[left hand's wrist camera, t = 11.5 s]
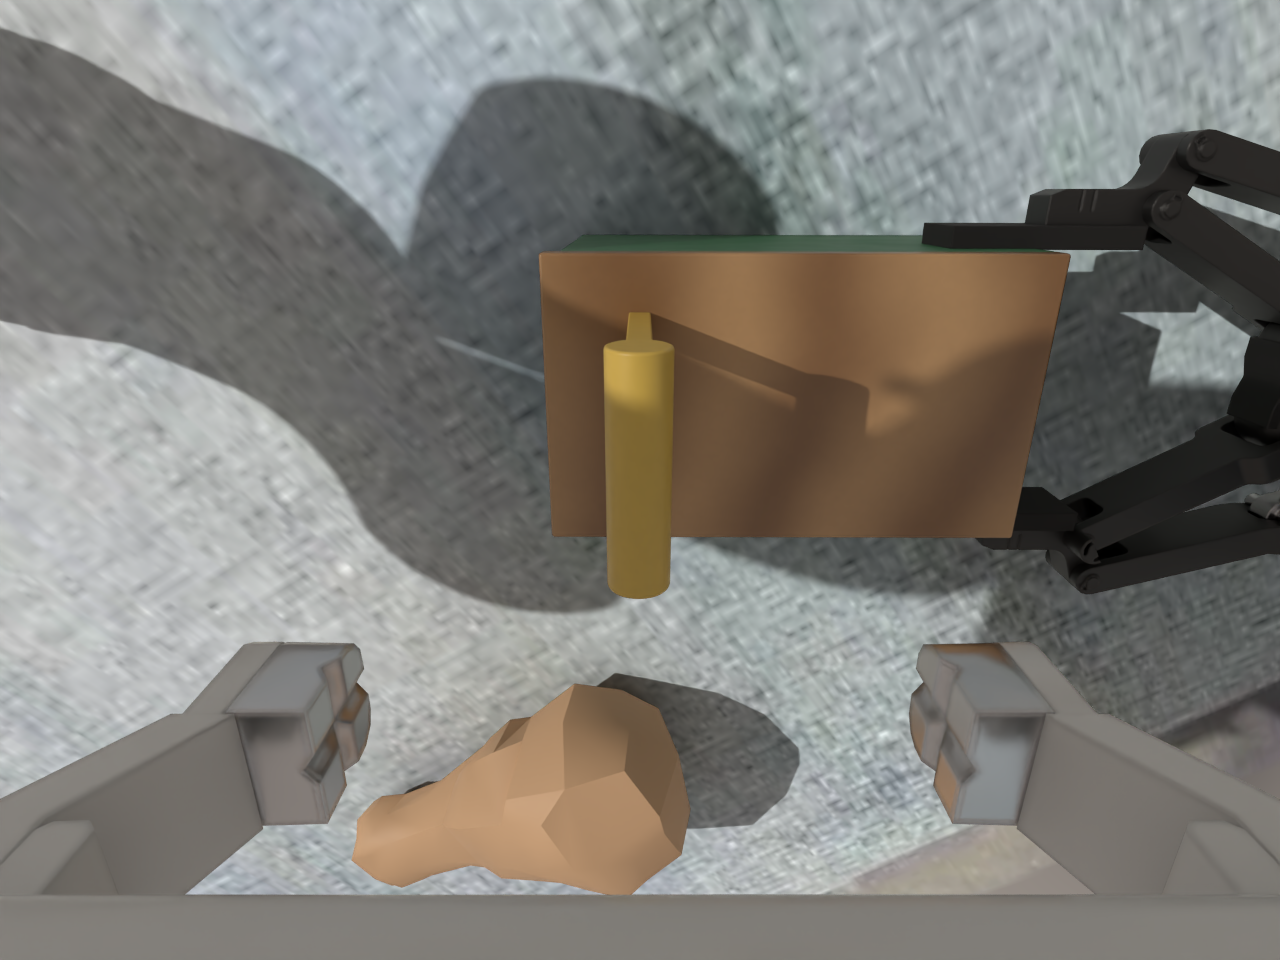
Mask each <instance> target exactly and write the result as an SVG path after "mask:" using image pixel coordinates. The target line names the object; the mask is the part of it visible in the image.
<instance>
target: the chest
mask: <svg viewBox="0 0 1280 960" xmlns="http://www.w3.org/2000/svg"><path fill="white" fill-rule="evenodd" d="M922 236H923V235H582V236H581V237H580V238H578V239H577V240H575V241H574V242H572V243H571V244H570V245H568V246H567V247H565V248H564V249H563V250H561V251H842V252H1054V251H1047V250H1040V249H949V248H944V247H938V246H932V245H927V244H922Z"/></svg>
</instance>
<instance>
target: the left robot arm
mask: <svg viewBox="0 0 1280 960" xmlns="http://www.w3.org/2000/svg"><path fill="white" fill-rule="evenodd" d="M363 670H364V666H363V661H362V656H361V651H360V649H359V648H358V647H357V646H356V645H355V644H354V643H310V642H286V643H284V642H251V643H248V644H245V645H243V646H242V647H241V648H240V649H239V651H238V652H237V653H236V654H235V655H234V656H233V657H232V658H231V660H230V661H229V662H228V663H227V664H226V665H225V666H224V667H223V669H222V670H221V671H220V672H219V673H218V674H217V675H216V676H215V678H214V679H213V680H212V681H211V682H210V683H209V684H208V686H207V687H206V688H205V689H204V690H203V691H202V692H201V693H200V695H199V696H198V697H197V698H196V699H195V700H194V701H193V702H192V704H191V705H190V706H189V707H188V708H187V709H186V710H185V711H184V713H183V714H170V715H168V716H166V717H164V718H162V719H160V720H158V721H156V722H154V723H152V724H150V725H148V726H146V727H144V728H142V729H140V730H138V731H136V732H134V733H132V734H130V735H128V736H126V737H124V738H122V739H120V740H118V741H116V742H114V743H112V744H110V745H108V746H106V747H104V748H102V749H100V750H98V751H96V752H94V753H92V754H90V755H88V756H86V757H84V758H82V759H79V760H77V761H75V762H73V763H71V764H69V765H67V766H65V767H63V768H61V769H59V770H57V771H55V772H53V773H51V774H49V775H47V776H45V777H43V778H41V779H39V780H37V781H35V782H33V783H31V784H29V785H27V786H25V787H23V788H21V789H19V790H17V791H15V792H13V793H11V794H9V795H7V796H5V797H3V798H1V799H0V960H1280V799H1278V798H1276V797H1274V796H1272V795H1270V794H1268V793H1266V792H1264V791H1262V790H1260V789H1258V788H1256V787H1254V786H1252V785H1250V784H1248V783H1246V782H1244V781H1242V780H1240V779H1238V778H1236V777H1234V776H1232V775H1230V774H1228V773H1226V772H1224V771H1222V770H1220V769H1218V768H1216V767H1214V766H1212V765H1210V764H1208V763H1206V762H1204V761H1202V760H1200V759H1198V758H1196V757H1194V756H1192V755H1190V754H1188V753H1186V752H1184V751H1182V750H1180V749H1178V748H1176V747H1174V746H1172V745H1170V744H1168V743H1166V742H1164V741H1162V740H1160V739H1158V738H1156V737H1154V736H1152V735H1150V734H1148V733H1146V732H1144V731H1142V730H1140V729H1138V728H1136V727H1134V726H1132V725H1130V724H1128V723H1126V722H1124V721H1122V720H1120V719H1118V718H1116V717H1114V716H1112V715H1110V714H1097V713H1096V711H1095V710H1094V709H1093V708H1092V707H1091V706H1090V705H1089V704H1088V702H1087V701H1086V700H1085V699H1084V698H1083V697H1082V696H1081V695H1080V693H1079V692H1078V691H1077V690H1076V689H1075V688H1074V687H1073V686H1072V684H1071V683H1070V682H1069V681H1068V680H1067V679H1066V678H1065V676H1064V675H1063V674H1062V673H1061V672H1060V671H1059V670H1058V669H1057V667H1056V666H1055V665H1054V664H1053V663H1052V662H1051V661H1050V660H1049V658H1048V657H1047V656H1046V655H1045V654H1044V653H1043V652H1042V651H1041V649H1040V648H1039V647H1038V646H1037V645H1035V644H1033V643H1031V642H1028V641H1025V642H995V643H976V644H923V646H922V648H921V650H920V652H919V654H918V660H917V665H916V670H917V671H918V673H919V675H920V677H921V678H922V680H923V683H922V684H921V685H920V686H919V687H918V688H917V689H916V690H915V691H914V692H913V693H912V695H911V702H910V710H909V719H910V731H911V736H912V739H913V743H914V747H915V749H916V751H917V753H918V755H919V757H920V760H921V761H922V762H923V763H925V764H926V765H928V766H929V767H930V768H932V769H933V770H935V771H936V773H935V778H934V784H933V786H934V788H935V790H936V792H937V794H938V796H939V798H940V800H941V802H942V804H943V806H944V808H945V810H946V812H947V814H948V816H949V818H950V820H951V822H952V824H978V825H1014V826H1017V829H1018V830H1019V831H1020V832H1022V833H1023V834H1024V835H1025V836H1026V837H1027V838H1029V839H1030V840H1031V841H1032V842H1033V843H1035V844H1036V845H1037V846H1038V847H1039V848H1041V849H1042V850H1043V851H1044V852H1045V853H1047V854H1048V855H1049V856H1050V857H1051V858H1053V859H1054V860H1055V861H1056V862H1057V863H1058V864H1060V865H1061V866H1062V867H1063V868H1064V869H1066V870H1067V871H1068V872H1069V873H1070V874H1072V875H1073V876H1074V877H1075V878H1076V879H1078V880H1079V881H1080V882H1081V883H1082V884H1084V885H1085V886H1086V887H1087V888H1088V889H1090V890H1091V891H1092V892H1093V893H1094V894H1080V895H791V894H713V895H185V894H186V893H187V892H188V891H190V890H191V889H192V888H193V887H194V886H196V885H197V884H198V883H199V882H200V881H202V880H203V879H204V878H205V877H206V876H207V875H209V874H210V873H211V872H212V871H213V870H215V869H216V868H217V867H218V866H219V865H221V864H222V863H223V862H224V861H225V860H227V859H228V858H229V857H230V856H231V855H233V854H234V853H235V852H236V851H237V850H239V849H240V848H241V847H242V846H243V845H245V844H246V843H247V842H248V841H249V840H250V839H252V838H253V837H254V836H255V835H256V834H258V833H259V832H260V831H261V830H262V829H263V826H266V825H300V824H328V822H329V820H330V818H331V816H332V814H333V812H334V810H335V808H336V806H337V804H338V802H339V800H340V798H341V796H342V794H343V792H344V790H345V788H346V786H347V784H346V778H345V772H344V771H345V770H347V769H348V768H350V767H351V766H352V765H354V764H355V763H357V762H358V761H359V760H360V757H361V755H362V753H363V751H364V749H365V747H366V744H367V739H368V734H369V730H370V725H371V708H370V701H369V695H368V693H367V692H366V691H365V690H364V689H363V688H362V687H361V686H360V685H359V684H358V683H357V680H358V678H359V677H360V675H361V673H362V671H363Z"/></svg>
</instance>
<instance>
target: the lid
mask: <svg viewBox="0 0 1280 960" xmlns="http://www.w3.org/2000/svg"><path fill="white" fill-rule="evenodd" d="M1070 257H1071V256H1070V254H1068V253H1060V252H842V251H543V252H541V253H539V272H540V293H541V314H542V335H543V356H544V377H545V398H546V419H547V440H548V461H549V482H550V503H551V524H552V535H553V536H554V537H607V583H608V586H609V588H610V589H611V590H612V591H613V592H614V593H616V594H617V595H620V596H622V597H626V598H632V599H645V598H651V597H655V596H658V595H660V594H662V593H663V592H665V591H666V590H667V588H668V587H669V584H670V555H671V537H906V538H1010V537H1011V536H1012V532H1013V527H1014V523H1015V518H1016V513H1017V509H1018V504H1019V499H1020V494H1021V490H1022V485H1023V480H1024V475H1025V471H1026V466H1027V461H1028V456H1029V452H1030V447H1031V442H1032V437H1033V433H1034V428H1035V423H1036V419H1037V414H1038V409H1039V404H1040V400H1041V395H1042V390H1043V385H1044V381H1045V376H1046V371H1047V366H1048V362H1049V357H1050V352H1051V347H1052V343H1053V338H1054V333H1055V329H1056V324H1057V319H1058V314H1059V310H1060V305H1061V300H1062V295H1063V291H1064V286H1065V281H1066V276H1067V272H1068V267H1069V262H1070Z"/></svg>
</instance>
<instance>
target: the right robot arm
mask: <svg viewBox="0 0 1280 960" xmlns="http://www.w3.org/2000/svg"><path fill="white" fill-rule="evenodd" d="M1139 160H1140V164H1141V165H1140V167H1139V169H1138V171H1137V172H1136V174H1135V175H1134V177H1133V178H1132V179H1131V180H1130V181H1129V182H1128V183H1127V184H1125V185H1124V186H1122V187H1120V188H1117V189H1045V190H1042V191H1040V192H1037V193H1035V194H1032V195H1030V199H1029V204H1028V209H1027V215H1026V220H1025V223H924V229H923V236H922V244H927V245H932V246H938V247H944V248H949V249H1040V250H1143V246H1144V244H1145V245H1146V246H1148V247H1149V248H1151V249H1152V250H1154V251H1155V252H1156V253H1158V254H1159V255H1161V256H1162V257H1164V258H1165V259H1167V260H1168V261H1169V262H1171V263H1172V264H1174V265H1175V266H1177V267H1178V268H1179V269H1181V270H1182V271H1184V272H1185V273H1187V274H1188V275H1190V276H1191V277H1192V278H1194V279H1195V280H1197V281H1198V282H1200V283H1201V284H1203V285H1204V286H1205V287H1207V288H1208V289H1210V290H1211V291H1213V292H1214V293H1216V294H1217V295H1218V296H1220V297H1221V298H1223V299H1224V300H1226V301H1227V302H1229V303H1230V304H1231V305H1233V306H1234V307H1233V308H1232V309H1233V311H1235V312H1236V313H1237V314H1239V315H1240V316H1242V317H1243V318H1245V319H1246V320H1248V321H1249V322H1250V323H1252V324H1253V325H1255V326H1256V327H1258V328H1259V329H1261V330H1262V332H1261V333H1260V335H1259V336H1251V337H1250V340H1249V343H1248V346H1247V350H1246V353H1245V356H1244V376H1243V378H1242V380H1241V381H1240V383H1239V385H1238V386H1237V388H1236V390H1235V392H1234V393H1233V395H1232V398H1231V401H1230V404H1229V407H1228V411H1227V414H1229V415H1227V416H1225V417H1223V418H1221V419H1219V420H1217V421H1214V422H1212V423H1210V424H1208V425H1206V426H1204V427H1202V428H1200V429H1198V430H1197V431H1196V432H1195V438H1194V439H1192V440H1190V441H1188V442H1186V443H1184V444H1181V445H1179V446H1177V447H1175V448H1173V449H1171V450H1168V451H1166V452H1164V453H1162V454H1160V455H1158V456H1155V457H1153V458H1151V459H1149V460H1147V461H1145V462H1142V463H1140V464H1138V465H1136V466H1134V467H1132V468H1129V469H1127V470H1125V471H1123V472H1121V473H1119V474H1116V475H1114V476H1112V477H1110V478H1108V479H1106V480H1103V481H1101V482H1099V483H1097V484H1095V485H1093V486H1090V487H1088V488H1086V489H1084V490H1082V491H1080V492H1077V493H1075V494H1073V495H1071V496H1069V497H1067V498H1064V499H1062V500H1059V499H1057V498H1056V497H1055V496H1053V495H1052V494H1051V493H1049V492H1048V491H1047V490H1045V489H1044V488H1042V487H1022V490H1021V494H1020V499H1019V504H1018V509H1017V513H1016V518H1015V523H1014V527H1013V532H1012V536H1011V537H1010V538H976V539H977V541H978V542H979V543H980V544H981V545H983V546H986V547H988V548H991V549H993V550H1007V549H1009V550H1017V549H1019V550H1047V552H1046V557H1045V558H1046V561H1047V562H1048V563H1049V564H1050V565H1051V566H1052V567H1053V568H1054V569H1055V570H1056V571H1057V572H1058V573H1059V574H1061V575H1062V576H1063V577H1064V578H1065V579H1066V580H1067V581H1068V582H1069V583H1070V584H1072V585H1073V586H1074V587H1075V588H1076V589H1077V590H1079V591H1080V592H1081V593H1083V594H1094V593H1098V592H1103V591H1107V590H1111V589H1116V588H1120V587H1124V586H1129V585H1133V584H1138V583H1142V582H1146V581H1151V580H1155V579H1160V578H1164V577H1168V576H1173V575H1177V574H1181V573H1186V572H1190V571H1195V570H1199V569H1203V568H1208V567H1212V566H1216V565H1221V564H1225V563H1230V562H1234V561H1238V560H1243V559H1247V558H1252V557H1256V556H1260V555H1265V554H1279V555H1280V489H1279V490H1277V491H1275V492H1271V493H1265V494H1262V495H1259V494H1256V493H1252V494H1249V495H1248V496H1247V497H1246V498H1245V503H1227V504H1220V505H1214V506H1209V507H1205V508H1201V509H1197V510H1193V511H1188V512H1185V511H1187V510H1190V509H1192V508H1194V507H1196V506H1199V505H1201V504H1203V503H1205V502H1208V501H1210V500H1212V499H1214V498H1217V497H1219V496H1221V495H1223V494H1226V493H1228V492H1230V491H1232V490H1235V489H1237V488H1239V487H1241V486H1244V485H1247V484H1268V483H1271V482H1274V481H1276V480H1279V479H1280V261H1278V260H1277V259H1275V258H1274V257H1273V256H1271V255H1270V254H1268V253H1267V252H1266V251H1264V250H1263V249H1261V248H1260V247H1259V246H1257V245H1256V244H1255V243H1253V242H1252V241H1250V240H1249V239H1248V238H1246V237H1245V236H1243V235H1242V234H1241V233H1239V232H1238V231H1236V230H1235V229H1234V228H1232V227H1231V226H1230V225H1228V224H1227V223H1225V222H1224V221H1223V220H1221V219H1220V218H1218V217H1217V216H1216V215H1214V214H1213V213H1211V212H1210V211H1209V210H1207V209H1206V208H1205V207H1203V206H1202V205H1200V204H1199V203H1198V202H1196V201H1195V200H1193V199H1192V198H1191V197H1189V196H1188V193H1189V191H1190V190H1191V188H1192V186H1194V187H1197V188H1200V189H1203V190H1206V191H1209V192H1212V193H1215V194H1218V195H1221V196H1224V197H1227V198H1230V199H1233V200H1236V201H1239V202H1242V203H1245V204H1249V205H1252V206H1255V207H1258V208H1261V209H1264V210H1267V211H1270V212H1273V213H1276V214H1279V215H1280V152H1279V151H1276V150H1273V149H1270V148H1267V147H1264V146H1261V145H1258V144H1256V143H1253V142H1250V141H1247V140H1244V139H1241V138H1238V137H1235V136H1232V135H1229V134H1226V133H1223V132H1220V131H1217V130H1210V129H1207V130H1198V131H1189V132H1180V133H1171V134H1162V135H1157V136H1154V137H1152V138H1150V139H1149V140H1148V141H1146V143H1145V144H1144V145H1143V147H1142V148H1141V151H1140V155H1139ZM1183 512H1184V513H1183Z"/></svg>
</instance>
